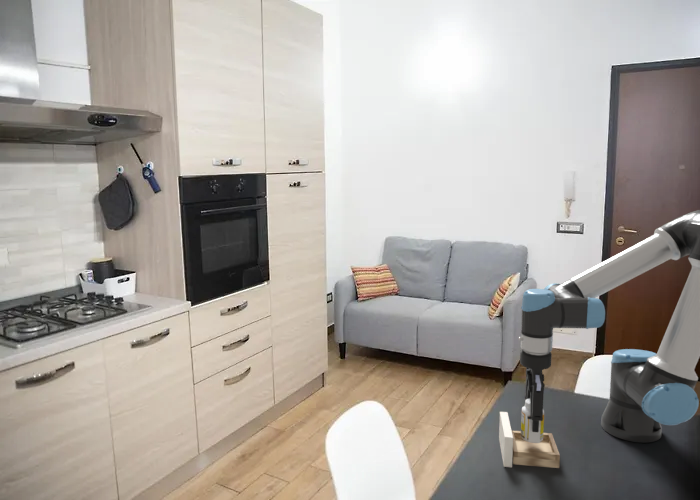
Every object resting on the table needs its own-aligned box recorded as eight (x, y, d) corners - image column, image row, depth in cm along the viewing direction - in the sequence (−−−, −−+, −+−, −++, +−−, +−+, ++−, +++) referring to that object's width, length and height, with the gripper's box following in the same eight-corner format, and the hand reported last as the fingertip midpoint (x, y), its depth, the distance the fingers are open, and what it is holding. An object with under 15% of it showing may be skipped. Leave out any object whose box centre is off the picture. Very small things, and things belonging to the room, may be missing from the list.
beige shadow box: (551, 445, 144) (551, 433, 144) (559, 468, 133) (559, 455, 133) (508, 442, 146) (509, 430, 146) (513, 464, 135) (513, 451, 135)
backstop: (506, 439, 148) (507, 412, 146) (512, 467, 134) (513, 437, 133) (499, 438, 148) (499, 411, 147) (503, 466, 134) (504, 436, 133)
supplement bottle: (547, 439, 138) (549, 402, 137) (533, 446, 135) (535, 408, 134) (529, 431, 143) (531, 395, 141) (515, 437, 140) (517, 400, 138)
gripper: (516, 338, 145) (513, 418, 149) (525, 362, 127) (521, 453, 131) (545, 339, 144) (541, 420, 147) (558, 364, 126) (554, 456, 129)
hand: (532, 435), depth 139 cm, fingers closed on supplement bottle, 6 cm apart
